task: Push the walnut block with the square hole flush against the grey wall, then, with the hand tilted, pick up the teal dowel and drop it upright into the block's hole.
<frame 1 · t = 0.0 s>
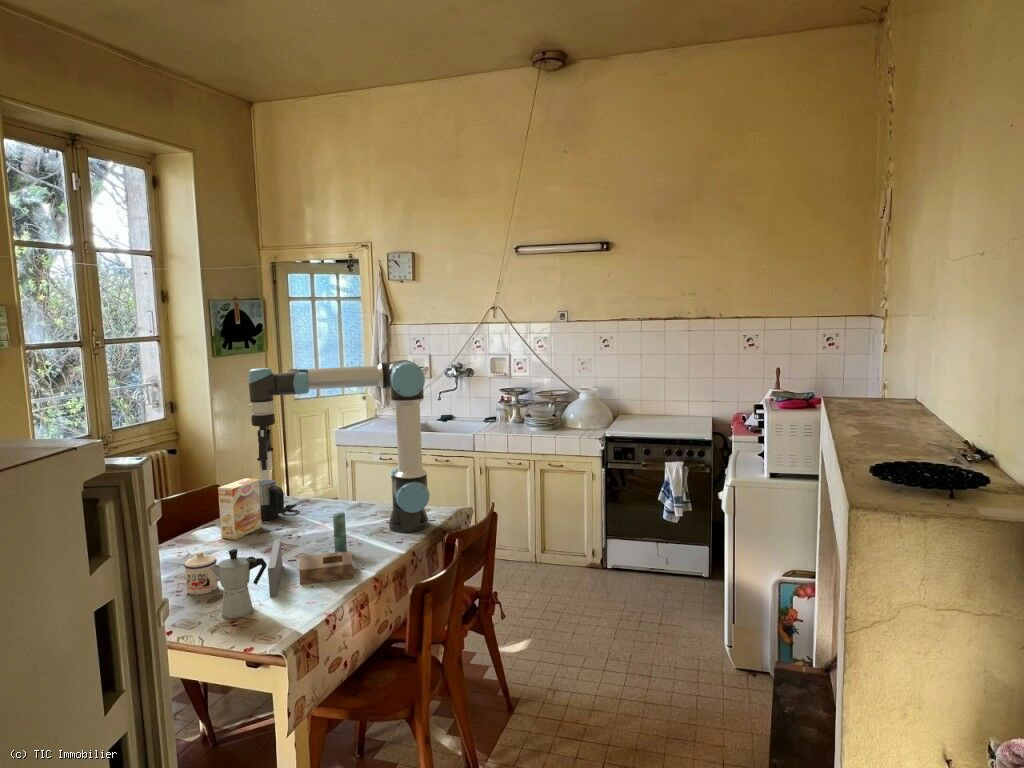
hand: (266, 474, 236), 28 cm above the table, tool pointing down, fingers open, 13 cm apart
teacup with lid: (207, 589, 210), on the table
milk frother: (276, 515, 284), on the table
dowel: (341, 553, 237), on the table
coffeecake box: (242, 533, 262), on the table
wall: (276, 580, 215), on the table
coffee maker: (241, 611, 193), on the table
socket block: (326, 567, 218), point 2 cm above the table, slide at 6.0 cm
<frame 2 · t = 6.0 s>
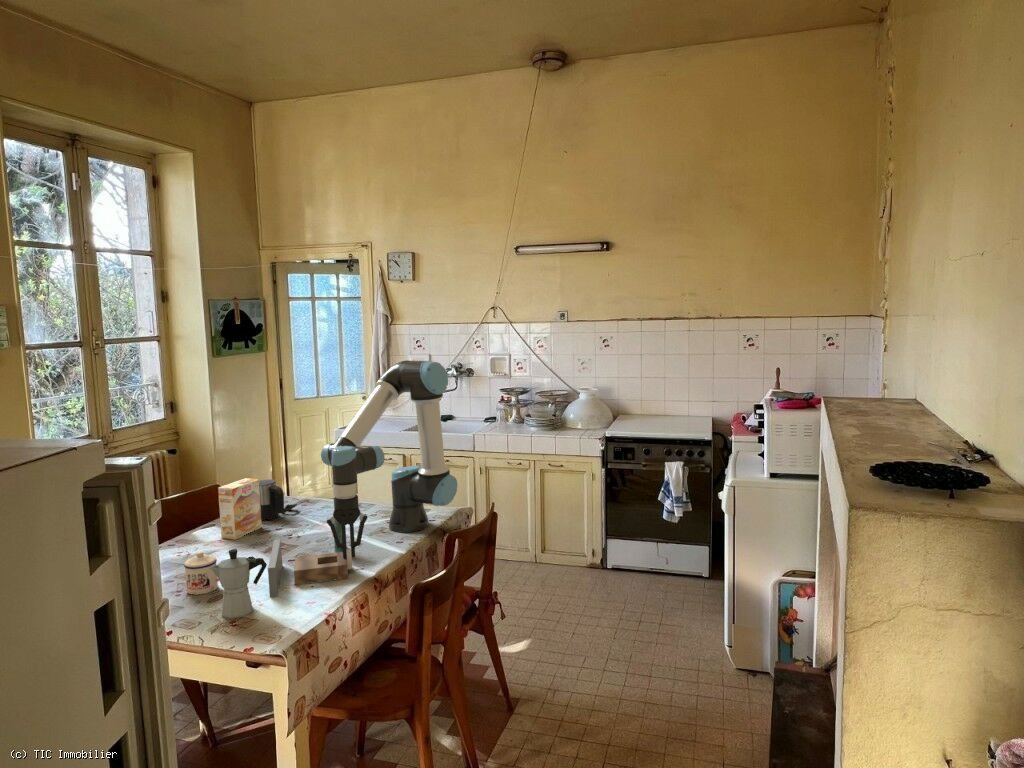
hand: (349, 567, 220), 2 cm above the table, tool pointing down, fingers closed
socket block: (321, 567, 218), point 2 cm above the table, slide at 4.4 cm, touching gripper
everything else where it was.
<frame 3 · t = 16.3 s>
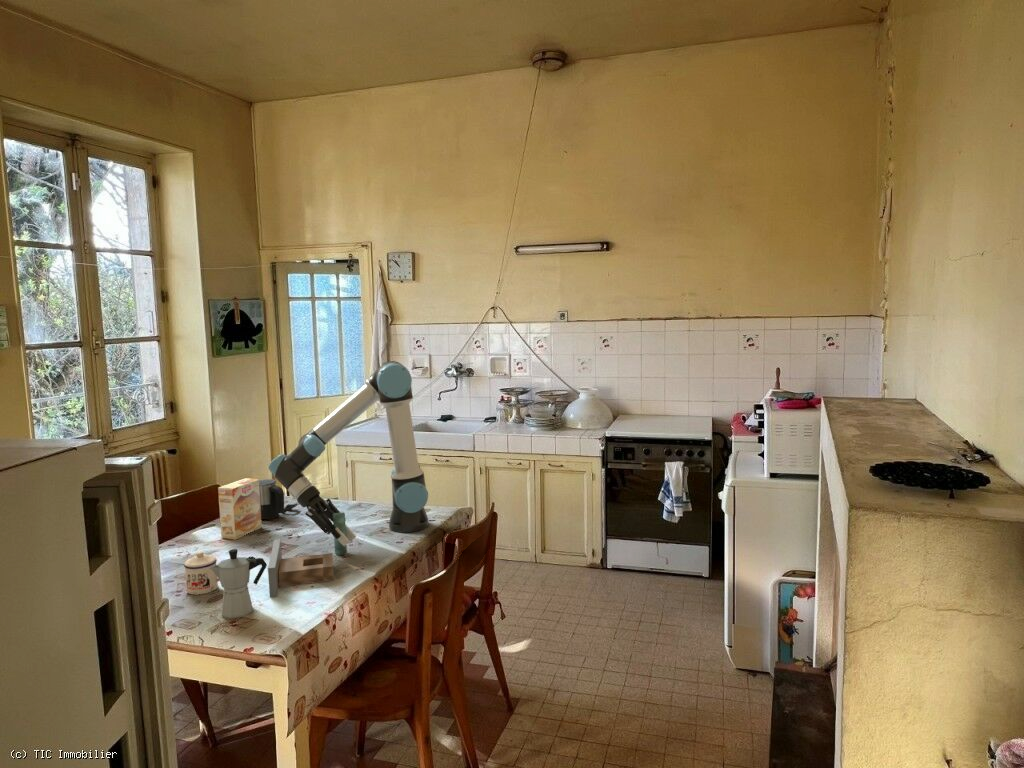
hand: (350, 541, 236), 5 cm above the table, tool tilted 45°, fingers closed on dowel, 4 cm apart
dowel: (341, 553, 237), on the table, touching gripper
socket block: (306, 569, 217), point 2 cm above the table, slide at 0.0 cm
everything else where it was.
when the fingers open (7 cm above the table, at t = 22.3 s): dowel drops 2 cm, resting in socket block.
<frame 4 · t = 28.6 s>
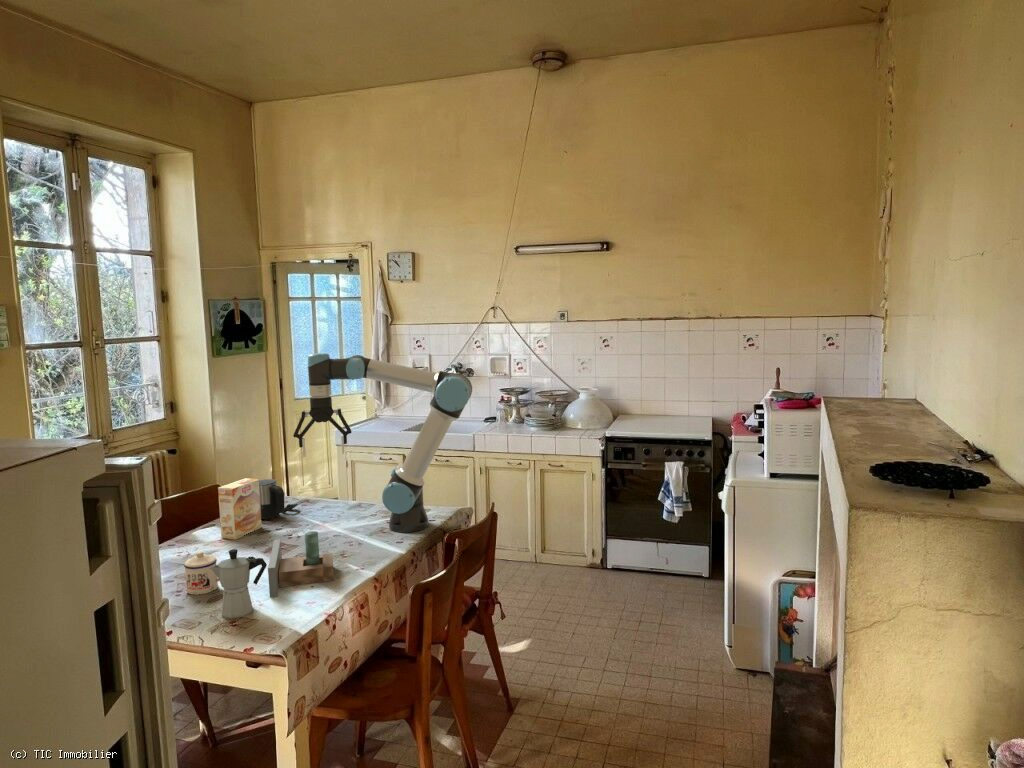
hand: (323, 454, 249), 32 cm above the table, tool pointing down, fingers open, 13 cm apart
dowel: (313, 576, 218), resting in socket block
everything else where it was.
at the end: socket block slide at 0.0 cm; dowel 0.1 cm from the target spot, resting in socket block; dowel tilted 0° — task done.
